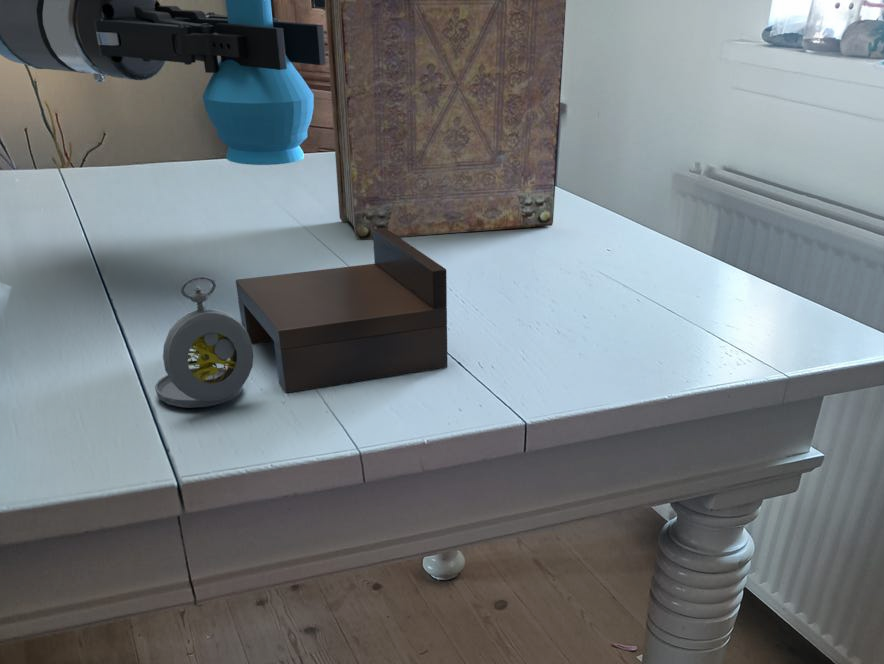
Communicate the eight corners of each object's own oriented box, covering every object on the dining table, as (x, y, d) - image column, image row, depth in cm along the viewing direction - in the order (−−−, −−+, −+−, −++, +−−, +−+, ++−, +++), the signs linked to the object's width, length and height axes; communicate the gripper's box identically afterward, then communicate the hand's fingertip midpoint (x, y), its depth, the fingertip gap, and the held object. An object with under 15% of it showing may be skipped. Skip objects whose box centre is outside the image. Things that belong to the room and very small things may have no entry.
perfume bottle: (270, 172, 76) (245, -57, 67) (188, 159, 80) (154, -59, 70) (340, 155, 82) (325, -56, 73) (260, 143, 86) (238, -59, 77)
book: (353, 240, 109) (332, -81, 91) (339, 221, 116) (316, -81, 98) (553, 226, 116) (571, -77, 97) (529, 209, 123) (540, -77, 104)
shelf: (286, 393, 73) (273, 290, 68) (243, 336, 83) (229, 243, 78) (447, 367, 78) (446, 269, 73) (389, 316, 88) (384, 227, 83)
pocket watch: (190, 374, 76) (167, 246, 70) (279, 390, 74) (263, 259, 68) (126, 411, 70) (94, 275, 64) (220, 430, 68) (197, 291, 62)
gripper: (189, 69, 91) (372, 90, 81) (38, 86, 80) (229, 113, 70) (175, -24, 87) (367, -14, 77) (13, -20, 76) (214, -8, 65)
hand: (301, 47), depth 73 cm, fingers closed on perfume bottle, 4 cm apart
